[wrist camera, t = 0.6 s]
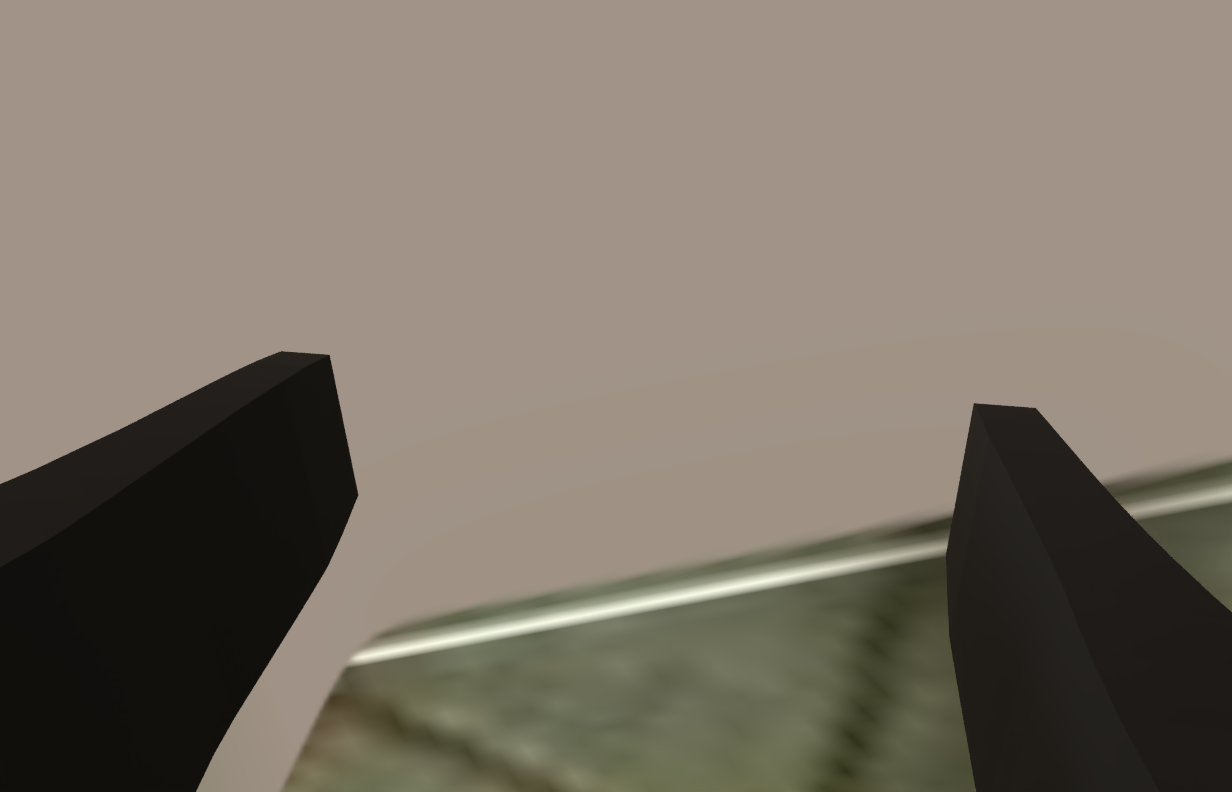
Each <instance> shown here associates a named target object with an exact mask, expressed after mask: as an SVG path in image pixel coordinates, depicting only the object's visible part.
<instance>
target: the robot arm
mask: <svg viewBox="0 0 1232 792" xmlns="http://www.w3.org/2000/svg"><path fill="white" fill-rule="evenodd" d="M357 497H358V491H357V486H356V482H355V477H354V472H353V468H352V463H351V457H350V453H349V447H348V442H347V438H346V433H345V428H344V424H343V418H342V413H341V409H340V404H339V399H338V394H337V389H336V385H335V379H334V374H333V369H332V365H331V360H330V355H324V354H310V353H297V352H283V351H281V352H278V353H276V354H273V355H271V356H268V357H265V358H263V359H261V360H258V361H256V362H254V363H251V364H249V365H247V366H245V367H243V368H241V369H239V370H237V371H235V372H232V373H230V374H228V375H226V376H225V377H222V378H220V379H218V380H216V381H214V382H212V383H210V384H209V385H206V386H204V387H203V388H201V389H199V390H197V391H195V392H193V393H191V394H189V395H187V396H185V397H183V398H181V399H179V400H177V401H175V402H173V403H171V404H169V405H167V406H165V407H163V408H161V409H159V410H157V411H155V412H153V413H152V414H149V415H148V416H146V417H144V418H142V419H140V420H138V421H136V422H134V423H132V424H130V425H128V426H126V427H124V428H122V429H120V430H118V431H116V432H114V433H112V434H109V435H107V436H105V437H103V438H101V439H99V440H96V441H94V442H92V443H90V444H88V445H86V446H84V447H82V448H79V449H77V450H75V451H73V452H71V453H69V454H67V455H65V456H62V457H60V458H58V459H56V460H54V461H52V462H50V463H48V464H46V465H43V466H41V467H39V468H37V469H35V470H32V471H30V472H28V473H25V474H23V475H21V476H18V477H16V478H14V479H12V480H9V481H7V482H4V483H2V484H0V792H196V790H197V788H198V786H199V784H200V782H201V780H202V778H203V776H204V774H205V772H206V770H207V767H208V765H209V763H210V761H211V759H212V757H213V755H214V753H215V752H216V750H217V748H218V746H219V744H220V742H221V741H222V739H223V737H224V735H225V734H226V732H227V730H228V728H229V727H230V725H231V723H232V721H233V720H234V718H235V716H236V714H237V713H238V711H239V710H240V708H241V707H242V705H243V703H244V701H245V700H246V698H247V697H248V695H249V694H250V692H251V691H252V689H253V687H254V686H255V684H256V682H257V681H258V679H259V677H260V676H261V675H262V673H263V671H264V670H265V668H266V666H267V665H268V663H269V661H270V660H271V658H272V657H273V655H274V654H275V652H276V650H277V649H278V647H279V646H280V644H281V642H282V641H283V639H284V638H285V636H286V634H287V633H288V631H289V630H290V628H291V626H292V625H293V623H294V621H295V620H296V618H297V617H298V615H299V613H300V612H301V610H302V609H303V607H304V605H305V604H306V602H307V600H308V599H309V597H310V595H311V594H312V592H313V590H314V589H315V587H316V585H317V584H318V582H319V580H320V579H321V577H322V575H323V574H324V572H325V570H326V568H327V567H328V565H329V563H330V561H331V558H332V556H333V554H334V552H335V549H336V547H337V545H338V543H339V541H340V538H341V536H342V534H343V531H344V529H345V527H346V524H347V522H348V519H349V517H350V514H351V512H352V509H353V507H354V504H355V502H356V499H357ZM946 564H947V594H948V616H949V636H950V643H951V649H952V655H953V661H954V667H955V673H956V679H957V684H958V690H959V696H960V702H961V708H962V713H963V719H964V725H965V730H966V736H967V742H968V747H969V753H970V759H971V764H972V770H973V776H974V781H975V787H976V792H1232V612H1231V611H1230V610H1228V609H1227V608H1226V607H1225V606H1224V605H1223V604H1222V603H1220V602H1219V601H1218V600H1217V599H1216V598H1215V597H1214V596H1213V595H1211V594H1210V593H1209V592H1208V591H1207V590H1206V589H1205V588H1204V587H1203V586H1202V585H1201V584H1200V583H1199V582H1198V581H1196V580H1195V579H1194V578H1193V577H1192V576H1191V575H1190V574H1189V573H1188V572H1187V571H1186V570H1185V569H1184V568H1183V567H1182V566H1180V565H1179V564H1178V563H1177V562H1176V561H1175V560H1174V559H1173V558H1172V557H1171V556H1170V555H1169V554H1168V553H1167V552H1166V551H1165V550H1164V549H1163V548H1162V547H1161V546H1160V545H1159V544H1158V543H1157V542H1156V541H1155V540H1154V539H1153V538H1152V537H1151V536H1150V535H1149V534H1148V533H1147V532H1146V531H1145V530H1144V529H1143V528H1142V527H1141V526H1140V525H1139V524H1138V523H1137V522H1136V521H1135V520H1134V519H1133V518H1132V517H1131V516H1130V515H1129V513H1128V512H1127V511H1126V510H1125V509H1124V508H1123V507H1122V506H1121V505H1120V504H1119V503H1118V502H1117V501H1116V500H1115V498H1114V497H1113V496H1112V495H1111V494H1110V493H1109V492H1108V491H1107V490H1106V489H1105V487H1104V486H1103V485H1102V484H1101V483H1100V482H1099V481H1098V480H1097V478H1096V477H1095V476H1094V475H1093V474H1092V473H1091V472H1090V470H1089V469H1088V468H1087V467H1086V466H1085V465H1084V464H1083V462H1082V461H1080V459H1079V458H1078V457H1077V455H1076V454H1075V453H1074V452H1073V451H1072V450H1071V448H1070V447H1069V446H1068V445H1067V444H1066V443H1065V442H1064V440H1063V439H1062V438H1061V437H1060V436H1059V434H1058V433H1057V432H1056V431H1055V430H1054V429H1053V427H1052V426H1051V425H1050V424H1049V423H1048V422H1047V420H1046V419H1045V418H1044V417H1043V416H1042V415H1041V414H1040V412H1039V411H1038V410H1037V409H1036V408H1028V407H1015V406H1001V405H988V404H975V403H974V406H973V411H972V417H971V422H970V427H969V433H968V438H967V444H966V449H965V454H964V460H963V465H962V471H961V476H960V482H959V487H958V492H957V498H956V503H955V509H954V514H953V520H952V525H951V530H950V536H949V541H948V547H947V552H946Z"/></svg>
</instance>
